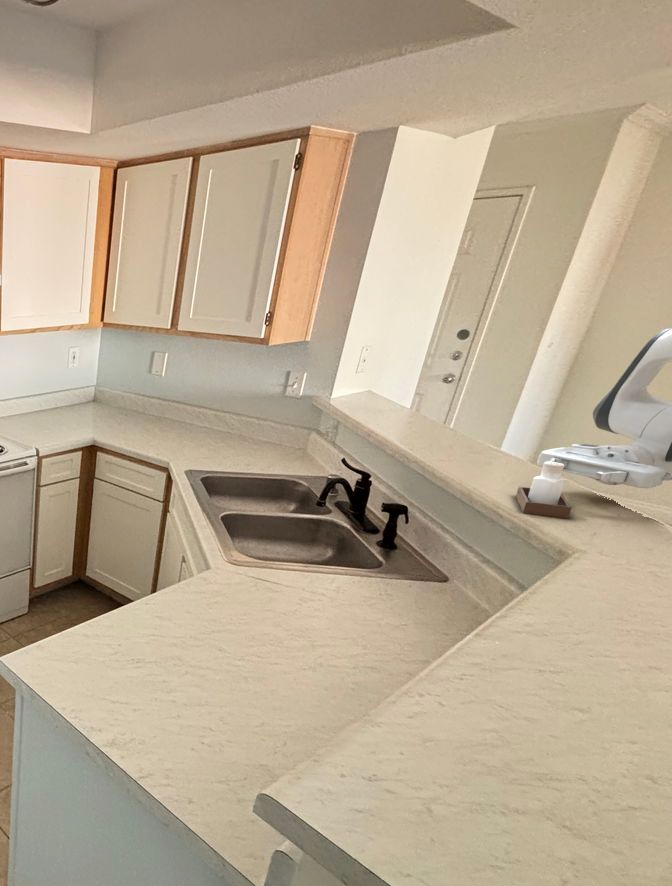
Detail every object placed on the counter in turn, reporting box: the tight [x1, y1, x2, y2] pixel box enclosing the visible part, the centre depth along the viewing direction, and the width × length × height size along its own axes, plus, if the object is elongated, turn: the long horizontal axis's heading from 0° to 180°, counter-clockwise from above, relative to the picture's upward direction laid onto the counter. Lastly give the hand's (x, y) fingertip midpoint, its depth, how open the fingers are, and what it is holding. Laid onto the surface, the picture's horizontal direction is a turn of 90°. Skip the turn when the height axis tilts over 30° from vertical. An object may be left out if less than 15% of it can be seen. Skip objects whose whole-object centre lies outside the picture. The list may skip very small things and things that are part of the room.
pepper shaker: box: [527, 462, 566, 505], centre depth 128 cm, size 4×4×10 cm
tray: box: [515, 486, 572, 519], centre depth 130 cm, size 13×7×2 cm, turn 143°
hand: (572, 471), depth 129 cm, fingers open, 8 cm apart
